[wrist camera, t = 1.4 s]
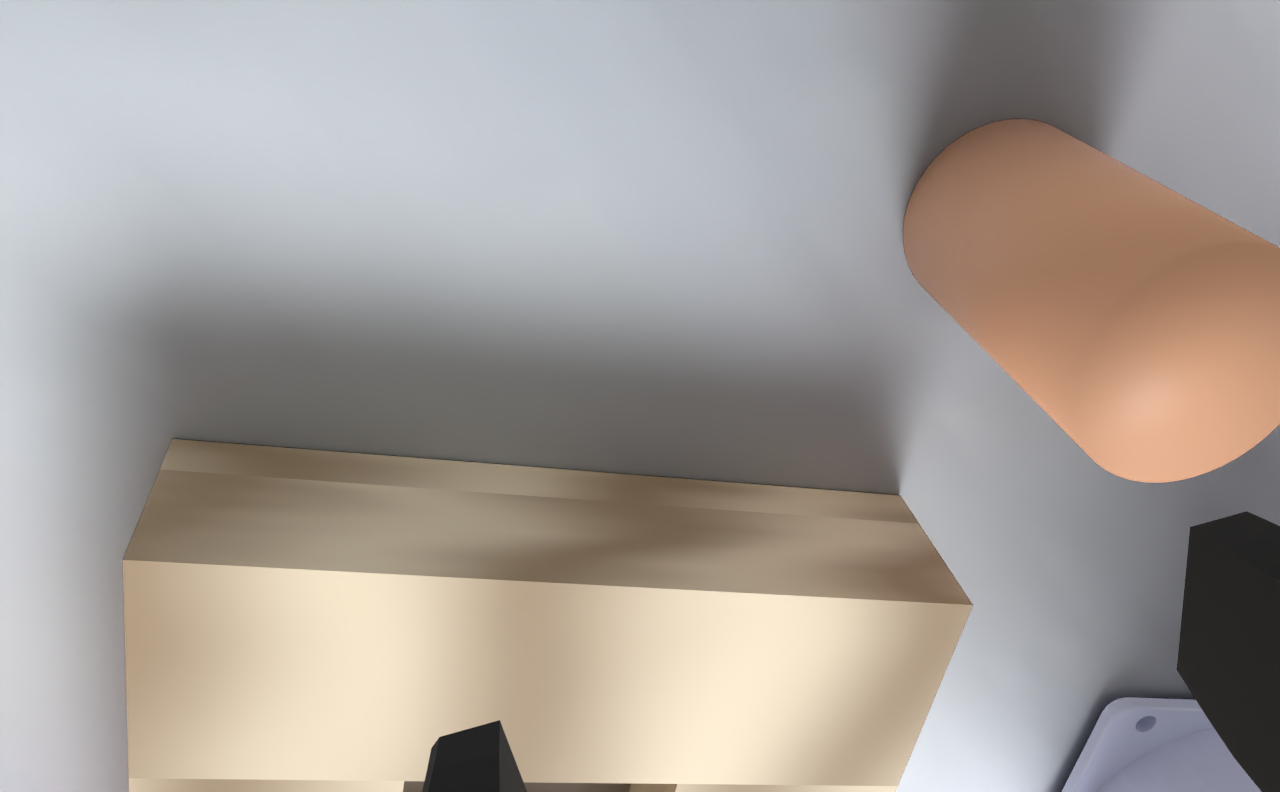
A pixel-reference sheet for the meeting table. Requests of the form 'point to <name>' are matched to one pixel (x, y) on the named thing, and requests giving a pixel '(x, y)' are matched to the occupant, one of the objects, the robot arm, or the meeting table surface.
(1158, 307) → the peg
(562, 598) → the bore block
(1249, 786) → the robot arm
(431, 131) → the meeting table surface
